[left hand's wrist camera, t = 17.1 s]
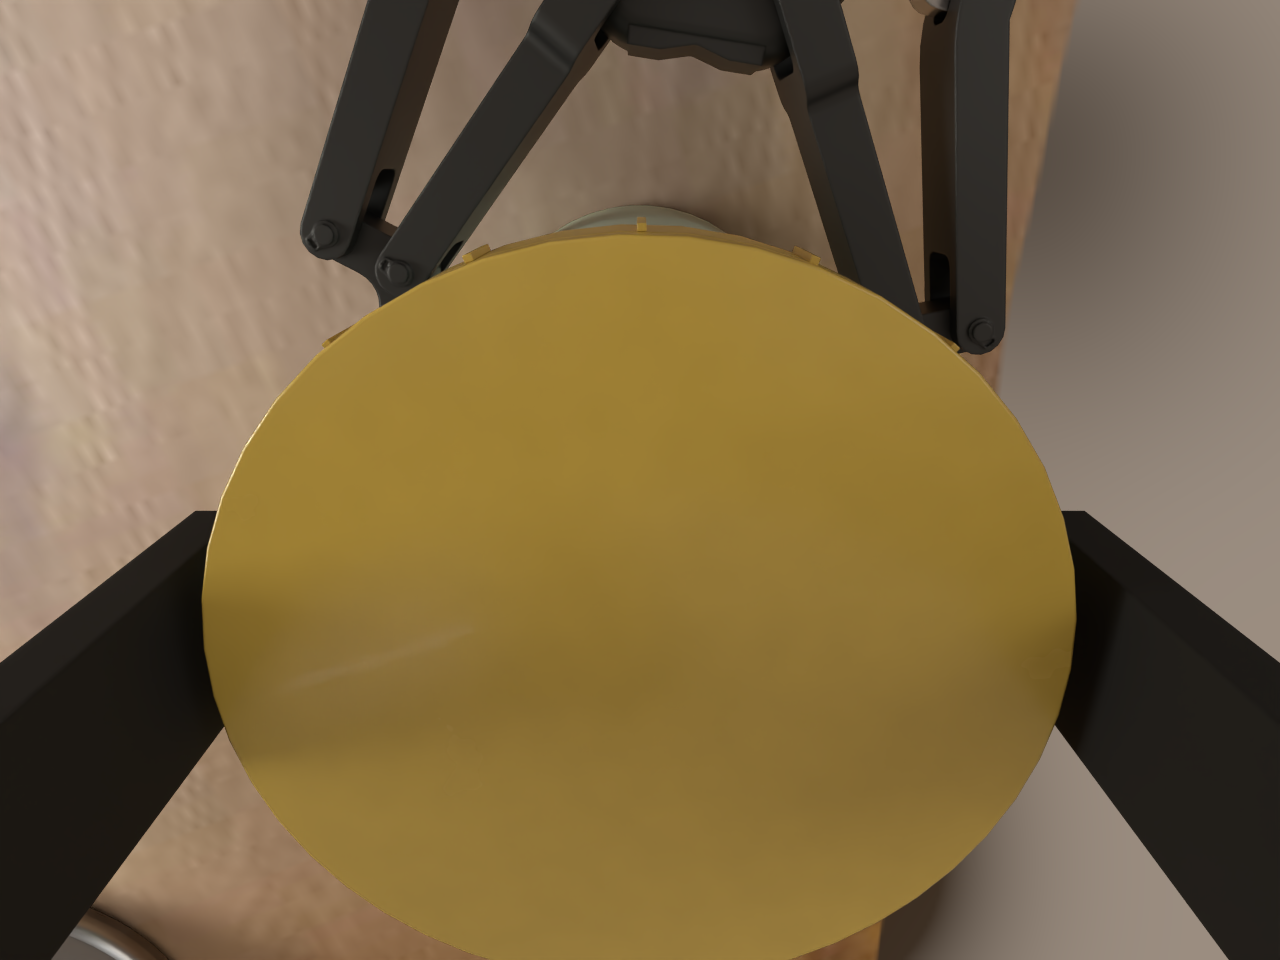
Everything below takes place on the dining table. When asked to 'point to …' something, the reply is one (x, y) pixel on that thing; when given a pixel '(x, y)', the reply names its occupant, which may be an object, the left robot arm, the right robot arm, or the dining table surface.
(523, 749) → the lid
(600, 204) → the dining table surface
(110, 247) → the dining table surface
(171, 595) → the left robot arm
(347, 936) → the dining table surface
